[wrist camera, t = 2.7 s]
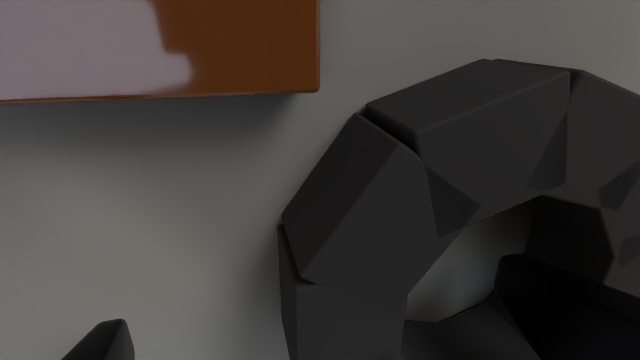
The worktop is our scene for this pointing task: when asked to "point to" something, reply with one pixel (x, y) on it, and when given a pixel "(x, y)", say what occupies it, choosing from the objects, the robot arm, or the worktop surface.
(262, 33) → the copper peg on plate
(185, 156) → the worktop surface
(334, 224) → the rubber ring
